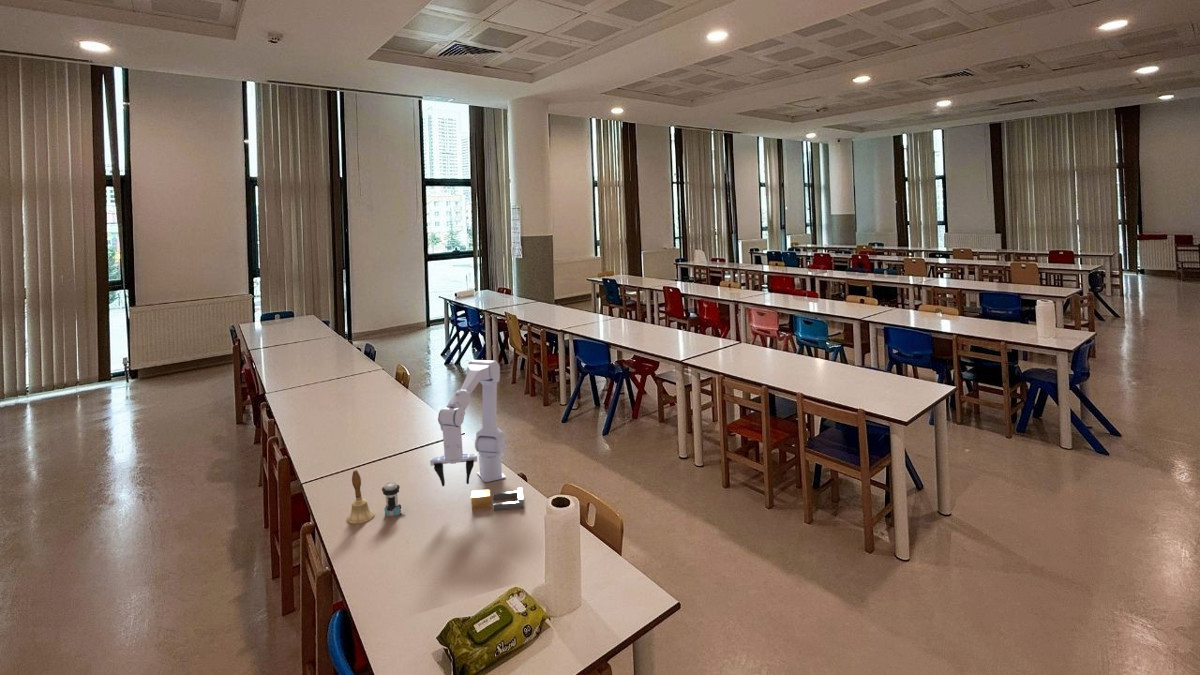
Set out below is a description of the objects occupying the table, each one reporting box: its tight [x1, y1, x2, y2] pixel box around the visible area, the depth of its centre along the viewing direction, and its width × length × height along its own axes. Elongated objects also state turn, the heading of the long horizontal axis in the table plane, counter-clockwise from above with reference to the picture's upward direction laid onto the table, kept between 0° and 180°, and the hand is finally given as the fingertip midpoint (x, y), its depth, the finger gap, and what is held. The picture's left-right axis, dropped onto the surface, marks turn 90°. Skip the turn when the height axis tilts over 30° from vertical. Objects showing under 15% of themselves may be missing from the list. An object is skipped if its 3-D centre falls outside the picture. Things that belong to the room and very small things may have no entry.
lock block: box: [470, 488, 492, 511], centre depth 198 cm, size 6×5×4 cm
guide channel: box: [493, 487, 524, 511], centre depth 199 cm, size 10×9×3 cm
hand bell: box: [346, 469, 375, 525], centre depth 190 cm, size 8×8×16 cm
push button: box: [381, 482, 406, 517], centre depth 193 cm, size 7×5×10 cm
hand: (455, 483), depth 195 cm, fingers open, 7 cm apart
